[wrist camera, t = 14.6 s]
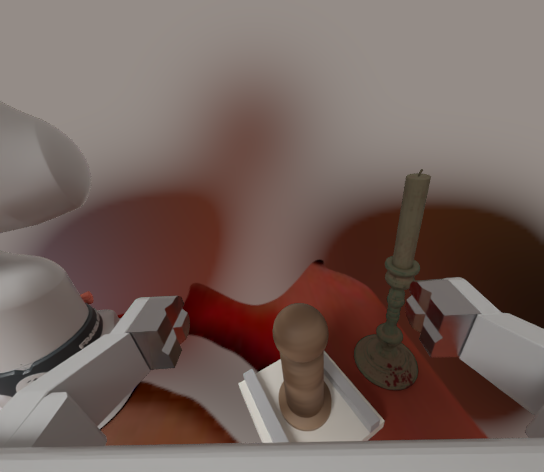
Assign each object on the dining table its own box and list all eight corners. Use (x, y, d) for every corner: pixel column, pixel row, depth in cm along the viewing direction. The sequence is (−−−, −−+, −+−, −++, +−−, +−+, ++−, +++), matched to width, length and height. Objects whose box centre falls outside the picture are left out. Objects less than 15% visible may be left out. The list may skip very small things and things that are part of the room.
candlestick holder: (366, 393, 34) (396, 186, 20) (346, 339, 42) (357, 164, 28) (431, 387, 34) (508, 174, 20) (398, 333, 42) (436, 155, 28)
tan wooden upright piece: (270, 391, 34) (254, 305, 26) (310, 366, 36) (306, 281, 29) (297, 444, 28) (287, 354, 21) (342, 410, 31) (349, 318, 23)
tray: (240, 389, 36) (236, 377, 35) (314, 345, 41) (314, 333, 40) (289, 508, 25) (287, 497, 23) (383, 427, 30) (386, 414, 29)
